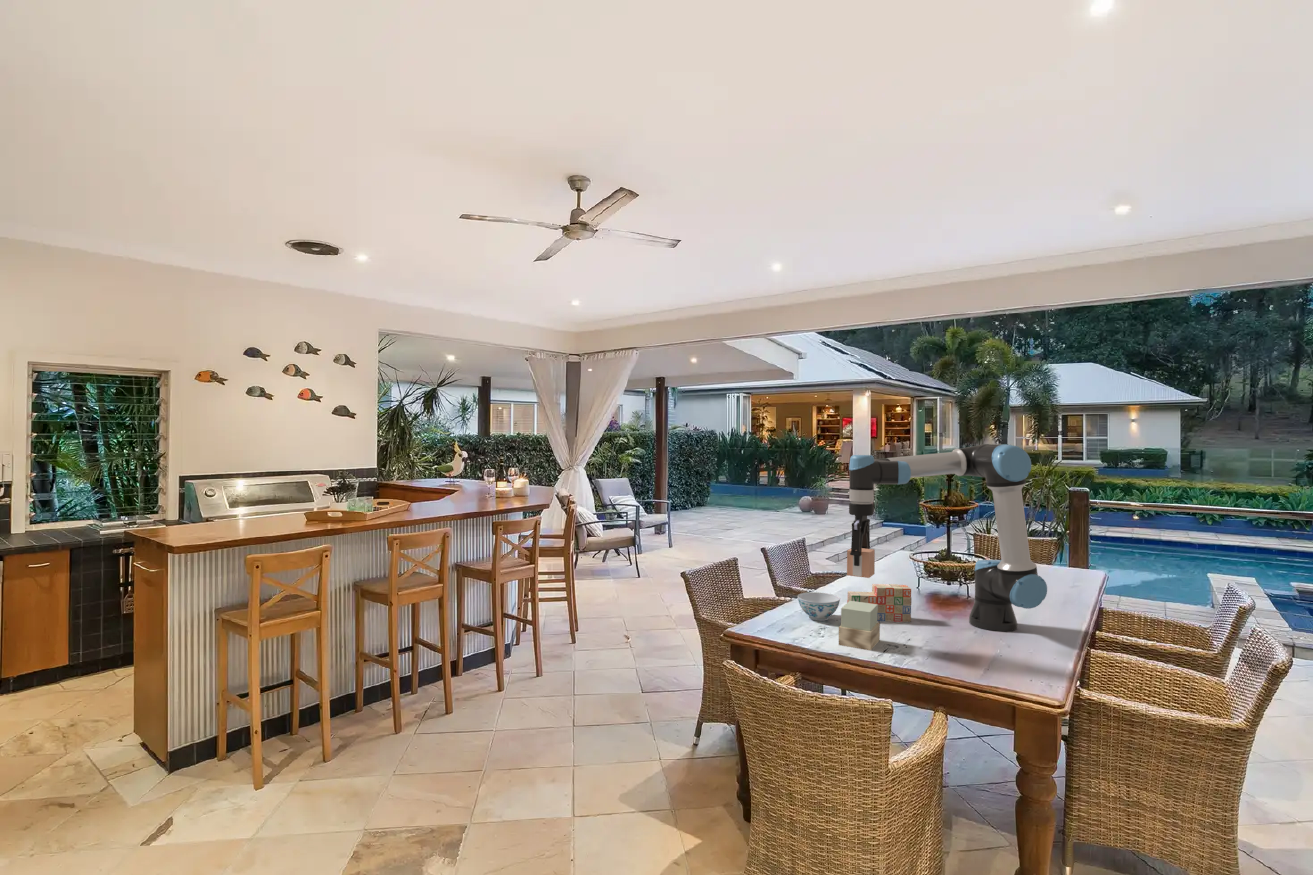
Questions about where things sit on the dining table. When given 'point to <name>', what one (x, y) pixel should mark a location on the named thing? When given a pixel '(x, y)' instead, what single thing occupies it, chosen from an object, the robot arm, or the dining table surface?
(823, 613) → the chinaware
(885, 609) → the stack of blocks
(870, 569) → the terracotta block
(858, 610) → the tower top block
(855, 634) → the tower base block
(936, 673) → the dining table surface
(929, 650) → the dining table surface
